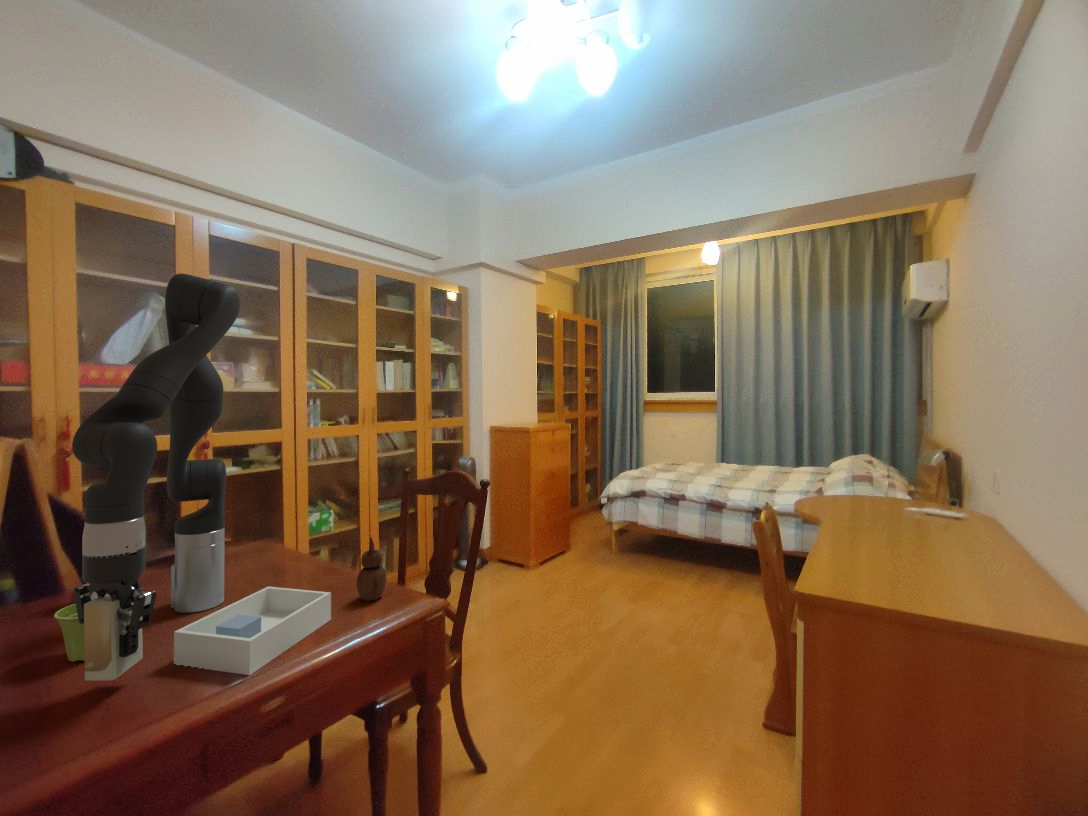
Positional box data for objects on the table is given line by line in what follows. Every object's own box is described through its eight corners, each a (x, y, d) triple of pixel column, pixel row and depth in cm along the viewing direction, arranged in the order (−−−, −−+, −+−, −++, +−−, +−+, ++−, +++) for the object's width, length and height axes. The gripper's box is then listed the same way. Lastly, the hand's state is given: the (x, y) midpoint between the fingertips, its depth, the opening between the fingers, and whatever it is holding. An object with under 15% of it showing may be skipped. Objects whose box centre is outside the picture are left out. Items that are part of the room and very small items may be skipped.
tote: (173, 664, 84) (174, 631, 84) (267, 612, 105) (268, 586, 105) (249, 675, 81) (250, 641, 81) (330, 619, 102) (331, 592, 102)
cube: (215, 653, 86) (215, 626, 86) (238, 640, 91) (238, 614, 91) (239, 656, 85) (239, 628, 85) (261, 643, 90) (261, 616, 90)
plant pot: (63, 673, 81) (63, 622, 80) (47, 657, 86) (47, 609, 85) (132, 650, 88) (133, 603, 88) (114, 636, 93) (114, 592, 93)
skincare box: (116, 659, 79) (116, 586, 79) (144, 659, 79) (144, 586, 79) (81, 682, 73) (81, 603, 72) (111, 681, 73) (111, 603, 73)
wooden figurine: (374, 605, 109) (375, 540, 109) (352, 602, 110) (352, 538, 110) (390, 593, 116) (390, 532, 116) (368, 591, 117) (369, 531, 117)
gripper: (52, 550, 74) (51, 658, 74) (125, 558, 70) (124, 671, 71) (106, 536, 81) (105, 635, 81) (174, 543, 78) (173, 646, 78)
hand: (114, 651), depth 76 cm, fingers closed on skincare box, 5 cm apart
